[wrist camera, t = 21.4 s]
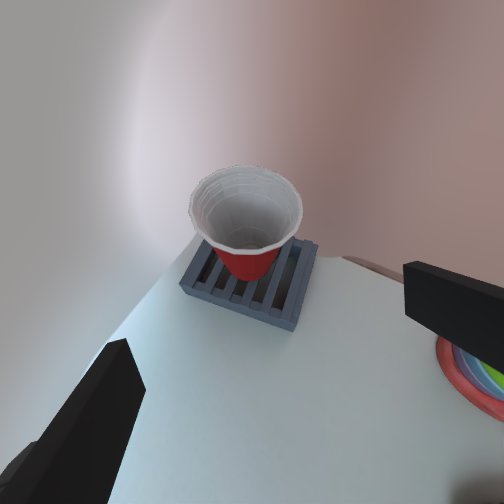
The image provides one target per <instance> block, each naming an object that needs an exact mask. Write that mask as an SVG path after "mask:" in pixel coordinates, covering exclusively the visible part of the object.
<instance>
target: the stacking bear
mask: <svg viewBox="0 0 504 504" xmlns="http://www.w3.org/2000/svg"><path fill="white" fill-rule="evenodd" d="M437 355H438V360H439V363H440V366H441V368H442V370H443V372H444V374H445V375H446V377H447V378H448V379H449V381H450V382H451V383H452V384H453V385H454V387H455V388H456V389H457V390H458V391H459V392H460V393H461V394H462V395H464V396H465V397H466V398H467V399H468V400H469V401H471V402H472V403H473V404H474V405H476V406H477V407H478V408H480V409H481V410H483V411H484V412H486V413H487V414H489V415H491V416H492V417H494V418H496V419H498V420H500V421H502V422H504V375H503V374H501V373H500V372H498V371H496V370H495V369H493V368H492V367H490V366H488V365H487V364H485V363H483V362H482V361H480V360H478V359H477V358H475V357H474V356H472V355H470V354H469V353H467V352H465V351H464V350H462V349H461V348H459V347H457V346H456V345H454V344H452V343H451V342H449V341H448V340H446V339H444V338H443V337H441V336H440V337H439V340H438V343H437Z"/></svg>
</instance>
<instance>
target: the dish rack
mask: <svg viewBox="0 0 504 504" xmlns="http://www.w3.org/2000/svg"><path fill="white" fill-rule="evenodd" d="M317 249H318V245H316V244H313V242H312V241H307V240H304V241H301V240H298V239H295V237H294V236H292V237H291V238H289V239H288V240H287V241H286V242H285V243H284V244H283V245H282V246H281V247H280V249H279V251H278V254H280V255H279V258H278V260H277V263H276V266H275V269H274V272H273V274H272V277H271V280H270V283H269V285H268V288H267V291H266V294H265V296H264V299H263V302H262V303H259V302H256V301H253V300H252V298H253V295H254V293H255V290H256V287H257V285H258V282H259V280H260V279H257V280H255V281H249V282H248V284H247V287H246V289H245V292H244V294H243V296H239V295H236V294H233V291H234V289H235V287H236V285H237V282H238V280H239V279H238V278H236V277H235V276H234V275H233V274H232V273H231V275H230V277H229V279H228V281H227V284H226V286H225V288H224V290H222V289H219V288H216V287H215V285H216V283H217V280H218V278H219V276H220V274H221V272H222V270H223V268H224V266H225V265H224V264H223V262H222V261H221V259H220V258H218V260H217V262H216V264H215V266H214V268H213V270H212V272H211V274H210V276H209V278H208V280H207V281H206V283H205V284H204V283H201V280H202V278H203V276H204V274H205V272H206V270H207V268H208V266H209V264H210V262H211V260H212V258H213V257H214V255H215V253H216V252H215V250H214V249H213V247H212V246H211V245H210V244H209V243H208V242H207V241H206V240H205V239H204V240H203V242H202V244H201V245H200V247H199V249H198V251H197V252H196V254H195V256H194V258H193V260H192V261H191V263H190V265H189V267H188V268H187V270H186V272H185V274H184V276H183V277H182V279H181V281H180V282H179V285H180V286H181V287H182V289H183V290H184V291H185V293H186V294H189V295H191V296H194V297H197V298H200V299H202V300H205V301H208V302H211V303H213V304H216V305H219V306H222V307H224V308H227V309H230V310H233V311H235V312H238V313H241V314H244V315H247V316H249V317H252V318H255V319H258V320H260V321H263V322H266V323H269V324H271V325H274V326H277V327H280V328H282V329H285V330H288V331H291V332H293V331H294V329H295V327H296V325H297V322H298V318H299V314H300V311H301V307H302V303H303V300H304V296H305V292H306V289H307V285H308V282H309V278H310V274H311V271H312V267H313V263H314V260H315V256H316V252H317ZM288 257H291V258H295V259H298V262H297V265H296V268H295V271H294V274H293V278H292V281H291V284H290V287H289V290H288V294H287V297H286V300H285V303H284V306H283V310H279V309H276V308H274V307H271V306H272V303H273V300H274V298H275V295H276V292H277V289H278V286H279V283H280V280H281V277H282V274H283V271H284V268H285V265H286V262H287V259H288Z"/></svg>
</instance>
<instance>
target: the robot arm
mask: <svg viewBox="0 0 504 504" xmlns="http://www.w3.org/2000/svg"><path fill="white" fill-rule="evenodd" d="M403 273H404V274H403V275H404V297H405V315H407V316H408V317H410V318H412V319H413V320H415V321H417V322H418V323H420V324H421V325H423V326H425V327H426V328H428V329H430V330H431V331H433V332H434V333H436V334H438V335H439V336H441V337H443V338H444V339H446V340H448V341H449V342H451V343H452V344H454V345H456V346H457V347H459V348H461V349H462V350H464V351H465V352H467V353H469V354H470V355H472V356H474V357H475V358H477V359H478V360H480V361H482V362H483V363H485V364H487V365H488V366H490V367H492V368H493V369H495V370H496V371H498V372H500V373H501V374H503V375H504V288H502V287H499V286H496V285H492V284H490V283H486V282H483V281H480V280H476V279H473V278H470V277H467V276H464V275H461V274H458V273H455V272H451V271H448V270H445V269H442V268H439V267H436V266H432V265H429V264H426V263H423V262H419V261H415V262H410V263H407V264H403ZM145 392H146V389H145V386H144V383H143V381H142V378H141V376H140V373H139V371H138V368H137V365H136V363H135V360H134V358H133V355H132V353H131V350H130V347H129V345H128V342H127V340H126V338H124V339H121V340H117V341H113V342H109V343H107V344H106V346H105V347H104V348H103V350H102V351H101V353H100V354H99V355H98V357H97V358H96V360H95V361H94V362H93V364H92V365H91V367H90V368H89V369H88V371H87V372H86V374H85V375H84V377H83V378H82V379H81V381H80V382H79V384H78V385H77V386H76V388H75V389H74V391H73V392H72V393H71V395H70V396H69V398H68V399H67V400H66V402H65V403H64V405H63V406H62V408H61V409H60V410H59V412H58V413H57V415H56V416H55V417H54V419H53V420H52V421H51V423H50V424H49V426H48V427H47V429H46V430H45V431H44V433H43V434H42V436H41V437H40V438H39V440H38V441H35V442H31V443H30V444H29V445H28V446H27V447H26V448H25V449H24V450H23V451H22V452H21V453H20V454H19V455H18V456H17V457H16V458H14V459H13V460H12V461H11V463H9V464H8V466H7V467H6V469H5V470H4V471H3V473H2V474H1V475H0V504H107V503H108V500H109V498H110V495H111V492H112V489H113V486H114V483H115V480H116V477H117V474H118V471H119V468H120V465H121V462H122V459H123V456H124V453H125V450H126V447H127V445H128V442H129V439H130V436H131V433H132V430H133V427H134V424H135V421H136V418H137V415H138V412H139V409H140V406H141V403H142V400H143V397H144V395H145Z"/></svg>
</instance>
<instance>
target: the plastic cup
mask: <svg viewBox="0 0 504 504" xmlns="http://www.w3.org/2000/svg"><path fill="white" fill-rule="evenodd" d="M188 213H189V216H190V218H191V221H192V223H193V226H194V229H195V230H196V232H197V233H198V234H199V235H201V236H202V237H203V238H204V239H205V240H206V241H207V242H208V243H209V244H210V245H211V246H212V247H213V249H214V250H215V252H216V253H217V255H218V256H219V258H220V259H221V261H222V262H223V264H224V265H225V266H226V267H227V268H228V270H229V271H230V272H231V273H232V274H233V275H234V276H235V277H236V278H238V279H241V280H244V281H255V280H257V279H260V278H262V277H263V276H264V275H265V274H266V273H267V272H268V271H269V269H270V266H271V264H272V263H273V262H274V259H275V257H276V255H277V253H278V251H279V249H280V247H281V246H282V245H283V244H284V243H285V242H286V241H287V240H288V239H289V238H291V237H292V236H293V235H294V234H295V233H296V232H297V231H298V228H299V225H300V223H301V220H302V217H303V214H304V213H303V207H302V200H301V197H300V195H299V194H298V192H297V191H296V189H295V188H294V186H293V185H292V183H291V182H289V181H288V180H287V179H285V178H284V177H282V176H281V175H279V174H278V173H276V172H274V171H271V170H268V169H265V168H261V167H258V166H241V165H239V166H237V165H236V166H232V167H228V168H224V169H220V170H217V171H215V172H214V173H212V174H210V175H209V176H207V177H206V178H204V179H202V180H201V181H200V183H199V184H198V185H197V187H196V188H195V190H194V191H193V193H192V194H191V197H190V203H189V210H188Z"/></svg>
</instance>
